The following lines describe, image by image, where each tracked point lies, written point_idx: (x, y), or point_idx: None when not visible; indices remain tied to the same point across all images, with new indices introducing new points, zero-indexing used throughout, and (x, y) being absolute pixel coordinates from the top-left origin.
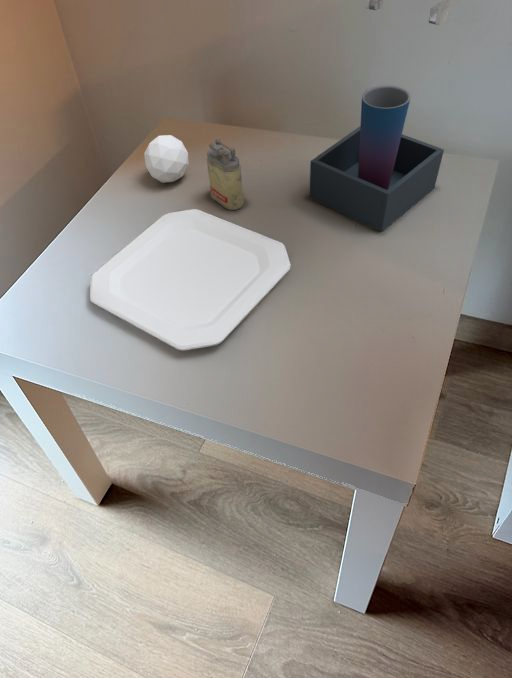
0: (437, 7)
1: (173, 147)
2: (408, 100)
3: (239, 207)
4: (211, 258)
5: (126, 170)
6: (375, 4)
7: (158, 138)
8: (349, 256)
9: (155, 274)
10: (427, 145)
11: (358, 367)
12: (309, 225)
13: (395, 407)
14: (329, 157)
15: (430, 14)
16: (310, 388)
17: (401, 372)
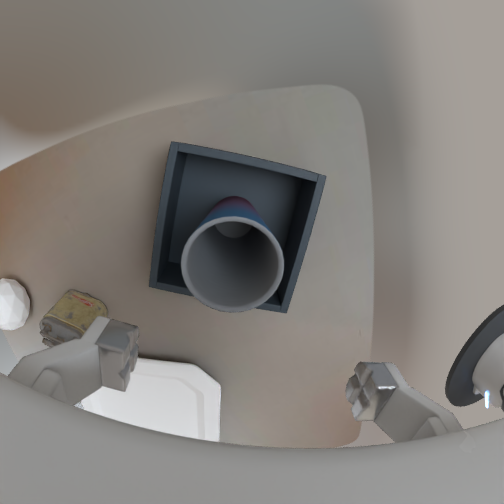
0: (374, 413)
1: (8, 317)
2: (282, 266)
3: (106, 315)
4: (146, 394)
5: None
6: (131, 368)
7: None
8: (260, 333)
9: (124, 416)
10: (298, 174)
11: (314, 415)
12: (193, 309)
13: (344, 422)
14: (162, 250)
15: (352, 407)
16: (290, 436)
17: (343, 406)
